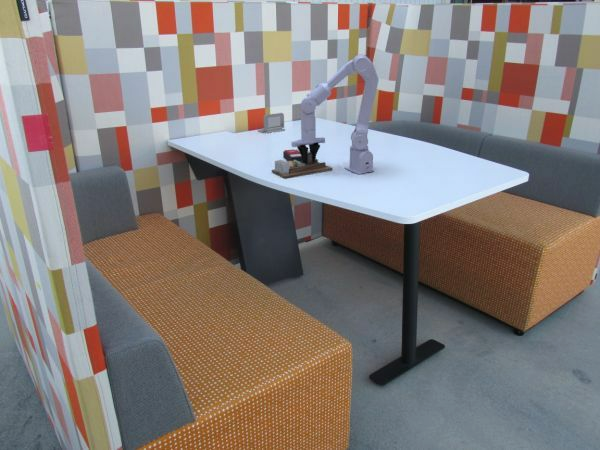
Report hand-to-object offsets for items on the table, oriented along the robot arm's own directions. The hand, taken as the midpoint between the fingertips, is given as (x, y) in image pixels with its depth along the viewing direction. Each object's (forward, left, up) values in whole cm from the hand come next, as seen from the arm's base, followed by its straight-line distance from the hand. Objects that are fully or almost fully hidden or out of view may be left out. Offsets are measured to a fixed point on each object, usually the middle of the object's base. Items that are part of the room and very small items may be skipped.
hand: (308, 162), depth 204 cm
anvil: (0, +12, -3) cm, 13 cm away
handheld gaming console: (+81, -24, -4) cm, 84 cm away
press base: (0, +3, -3) cm, 4 cm away
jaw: (0, +2, -2) cm, 3 cm away
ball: (0, +8, 0) cm, 8 cm away
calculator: (+16, -5, -4) cm, 18 cm away
